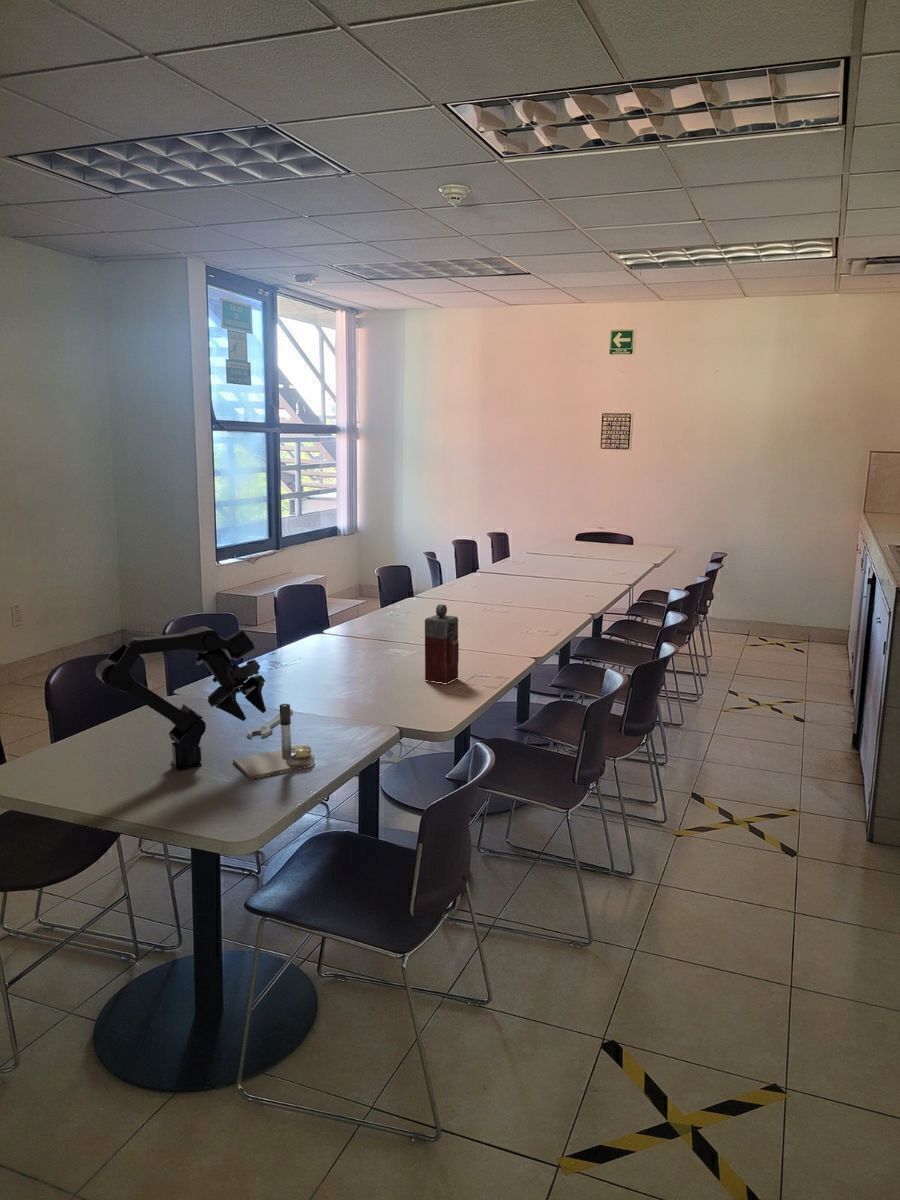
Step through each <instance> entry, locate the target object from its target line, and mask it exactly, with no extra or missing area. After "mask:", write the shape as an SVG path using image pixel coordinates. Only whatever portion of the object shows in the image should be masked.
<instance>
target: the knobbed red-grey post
mask: <svg viewBox="0 0 900 1200" xmlns="http://www.w3.org/2000/svg"><path fill="white" fill-rule="evenodd" d="M447 611H448V607H447V605H445V604H440V603H439V604H437V605H436V608H435V615H432V616H429V617H426V618H425V619H424V681H425V680H428V681H435V682H442V683H448V682H450V681H452V680H454V679H456V678H458V679H459V658H460V657H459V655H460V654H459V653H460V651H459V650H460V649H459V644H460V643H459V617H457V616H454V615H447V613H448V612H447Z"/></svg>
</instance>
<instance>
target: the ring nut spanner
mask: <svg viewBox="0 0 900 1200" xmlns="http://www.w3.org/2000/svg"><path fill="white" fill-rule="evenodd" d="M290 709H291V704H290V703H280V704H279V714H280V723H279V724H280V734H281V735H280V736H281V737H280V740H281V741H280V742H281V750H282V758H283V760H290V759H306V758H309V757H310V756H311V753H312V746H311V747H310V746H309V745H306V744H304V745H294V746H292V740H291V739H292V738H291V737H292V735H291V734H292V733H291V732H292V731H291V723H292V722H291V721H292V720H291V716H292V715H290Z"/></svg>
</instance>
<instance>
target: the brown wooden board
mask: <svg viewBox="0 0 900 1200" xmlns="http://www.w3.org/2000/svg"><path fill="white" fill-rule="evenodd" d="M232 761H233V762H232V763H233V764H234V766H236V767H237V769H239V770H240V771H241V772H242V771H243V772H244V773H245V774H244V773H243V772H242V773H243V774H244V775H245V776H246V777H248V779H249V780H251V779H253V780H256V779H255V778H258V779H261V778H260V777H262V778H265V777H264V776H267V777H269V776H268V775H272V776H274V775H273V774H276V775H278V774H277V773H280V772H285V773H287V772H286V771H290V770H294V771H296V770H295V769H299V768H304V767H308V766H311V765H312V764H314V765H315V763H316V762H315V754H314V752H313V753H312V752H311V756H310V757H309V758H306V759H290V760H283V758H282V749H279V750H273V751H269V752H263V753H259V754H254V755H248V756H244V757H239V758H235V759H232ZM314 762H315V763H314ZM311 767H312V766H311ZM308 768H309V767H308ZM304 769H305V768H304ZM299 770H300V769H299ZM290 772H291V771H290Z"/></svg>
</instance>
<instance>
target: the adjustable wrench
mask: <svg viewBox="0 0 900 1200" xmlns="http://www.w3.org/2000/svg"><path fill="white" fill-rule="evenodd" d="M293 711H294V710H293V709H292V708H290V715H291V716H292V715H293ZM278 723H279V724H280V713H278V714H277V715H276V716H274V717H273V718H271V719H270V720H269V721H267V722H266V723H264V724H262V725H261V726H258V727H255V728H251V729H248V730H247V732H246V735H247V738H249V737H250V738H249V739H252V738H253V736H255V735H256V734H257V735H261V738H262V737H264V738H266V736H267V737H268V735H269V736H270V735H272V734H273V728H275V727H276V726H277V725H279V724H278ZM271 733H272V734H271Z"/></svg>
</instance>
